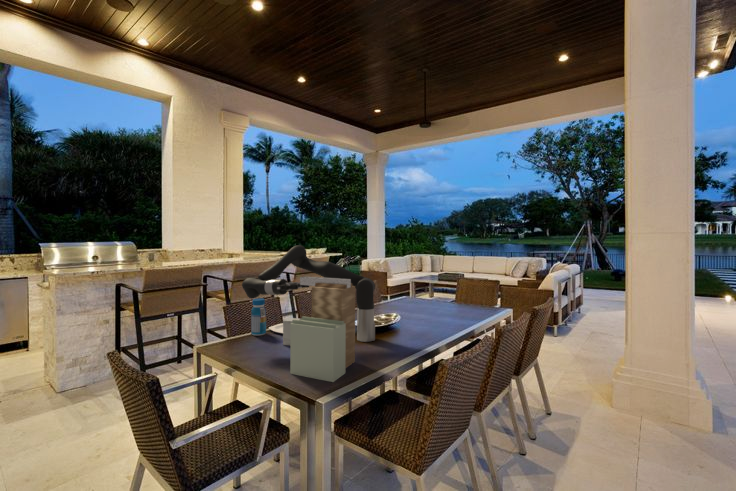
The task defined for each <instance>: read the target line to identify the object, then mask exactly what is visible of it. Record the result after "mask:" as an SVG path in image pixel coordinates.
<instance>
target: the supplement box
mask: <svg viewBox="0 0 736 491" xmlns="http://www.w3.org/2000/svg"><path fill="white" fill-rule="evenodd" d="M292 320H302V318H298V317H297V318H296V317H289V318H286V319H285V320H283V321H282V323H283V333H282V345H283V346H290V324H291V323H292Z"/></svg>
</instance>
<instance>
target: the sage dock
mask: <svg viewBox="0 0 736 491" xmlns="http://www.w3.org/2000/svg"><path fill="white" fill-rule="evenodd" d="M289 346H290V348H289V350H290V351H289V352H290V353H289V355H290V360H289V361H290V364H289V365H290V367H289V368H290V371H289V372H290V373H289V374H290V375H295V376H300V377H306V378H310V379H316V380H320V381H326V382H330V383H331V382H332V383H334V382H336V381H338V379H339V378H341V377H342V376H344V375H345V374H346V368H345V350H346V323H344V321H338V320H330V319H321V318H313V317H312V316H311V317H310V316H303V315H302V316H301V320H292V323H291V324H290V345H289Z"/></svg>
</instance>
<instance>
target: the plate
mask: <svg viewBox="0 0 736 491" xmlns="http://www.w3.org/2000/svg"><path fill="white" fill-rule="evenodd" d="M268 329H269V330H270V331H272V332H274V333H278V334H283V322H281V323H278V324H274V325H272V326H269V327H268Z"/></svg>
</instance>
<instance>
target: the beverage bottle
mask: <svg viewBox="0 0 736 491" xmlns="http://www.w3.org/2000/svg"><path fill="white" fill-rule="evenodd" d="M265 303H266V300H265V298H262V297H261V298H258V297H257V298H253V299H252V308H251V311H250V313H251V315H250V320H251V322H250V326H251V328H250V329H251V332H250V333H251V335H252V336H255V337H256V336H257V337H258V336H264V335H266V334H267V314H266V313H267V309H266V307H265Z"/></svg>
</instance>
